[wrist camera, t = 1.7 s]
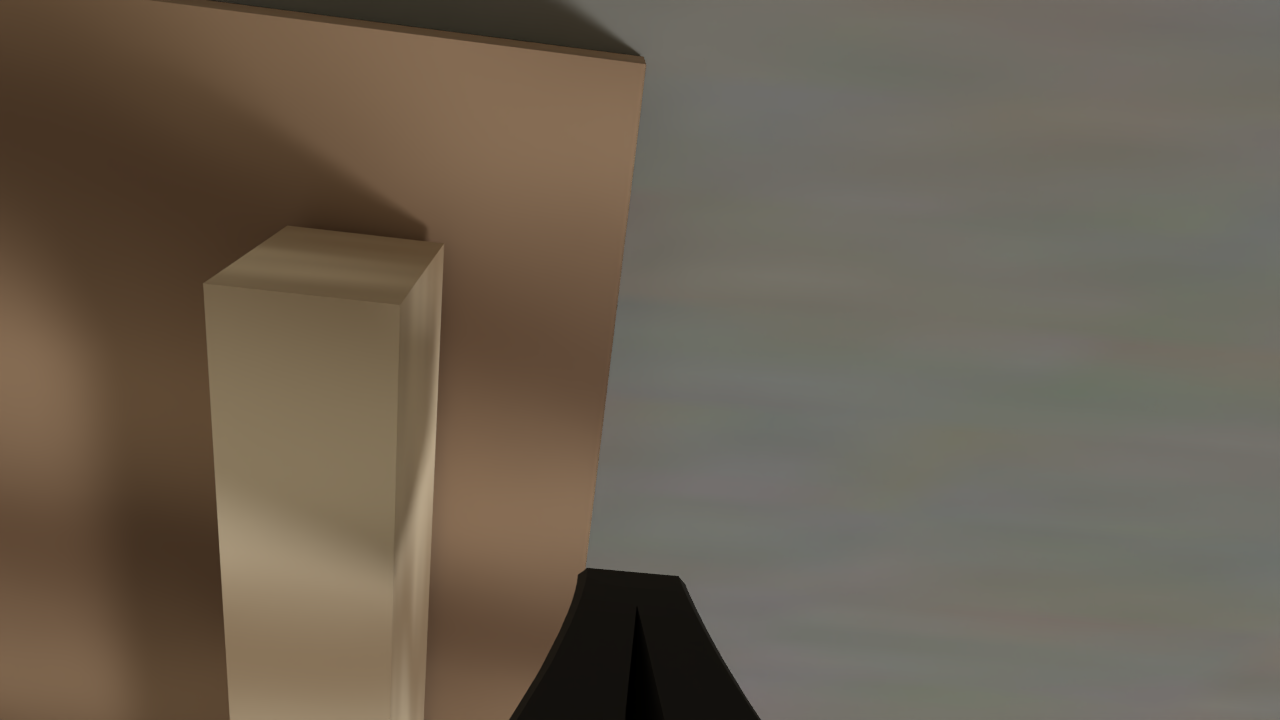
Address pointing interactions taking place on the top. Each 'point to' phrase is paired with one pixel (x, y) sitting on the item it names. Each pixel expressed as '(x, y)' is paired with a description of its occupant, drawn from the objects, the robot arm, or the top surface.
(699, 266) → the top surface
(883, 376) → the top surface
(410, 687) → the folding leg
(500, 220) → the stool seat
